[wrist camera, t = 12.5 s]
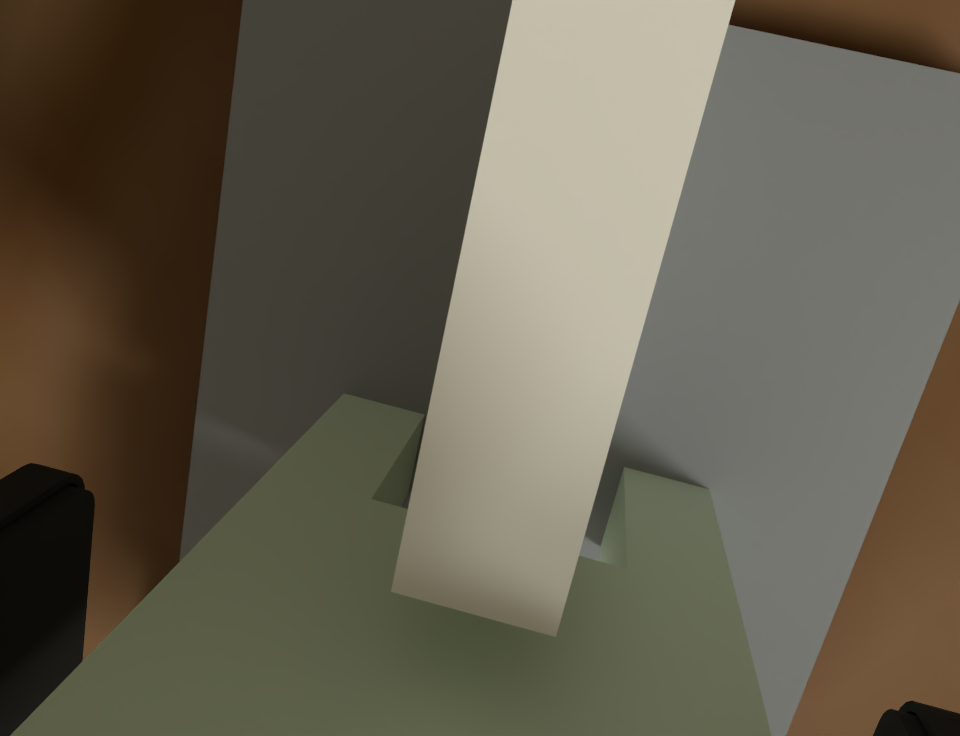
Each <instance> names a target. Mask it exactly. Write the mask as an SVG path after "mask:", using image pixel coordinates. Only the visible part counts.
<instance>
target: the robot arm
mask: <svg viewBox="0 0 960 736" xmlns="http://www.w3.org/2000/svg"><path fill="white" fill-rule="evenodd" d="M94 507H95V502H94V496H93V494H92V493H91V492H90V491H88V490H85V485H84V483H83V480H82V478H81V477H80V476H79V475H76V474H72V473H69V472H65V471H61V470H58V469H54V468H50V467H46V466H43V465H39V464H33V463H30V464H27V465H25V466H23V467H21V468H19V469H17V470H16V471H14V472H12V473H11V474H9V475H7V476H6V477H4V478H2V479H0V736H10V735H11V734H12V733H13V732H14V731H15V730H16V729H17V728H18V727H19V726H20V725H21V724H22V723H23V722H24V721H25V720H26V719H27V718H28V717H29V716H30V715H31V714H32V713H33V712H34V711H35V710H36V709H37V708H38V707H39V706H40V704H41V703H42V702H43V701H44V700H45V699H46V698H47V697H48V696H49V695H50V694H51V693H52V692H53V691H54V690H55V689H56V688H57V687H58V686H59V685H60V684H61V683H62V682H63V681H64V680H65V679H66V678H67V677H68V676H69V675H70V674H71V673H72V672H73V671H74V670H75V669H76V668H77V667H78V666H79V664H80V663H81V662H82V659H83V646H84V634H85V621H86V608H87V596H88V583H89V570H90V557H91V545H92V532H93V519H94ZM873 736H960V714H959V713H955V712H951V711H948V710H944V709H940V708H937V707H933V706H929V705H926V704H922V703H918V702H914V701H909V702H906V703H905V704H904V705H903V706H902V707H901V708H900V709H899V711H897V710H893V709H890V710H887V711H886V712H885V713H884V714H883V715H882V717H881V719H880V721H879V723H878V725H877V728H876V730H875V732H874V734H873Z"/></svg>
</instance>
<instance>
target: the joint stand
mask: <svg viewBox="0 0 960 736" xmlns="http://www.w3.org/2000/svg"><path fill="white" fill-rule="evenodd" d="M734 3H735V0H243V4H242V12H241V21H240V30H239V39H238V48H237V56H236V65H235V74H234V83H233V92H232V100H231V109H230V118H229V127H228V136H227V144H226V153H225V162H224V171H223V180H222V188H221V197H220V206H219V215H218V224H217V232H216V241H215V250H214V259H213V268H212V276H211V285H210V294H209V303H208V312H207V320H206V329H205V338H204V347H203V356H202V364H201V373H200V382H199V391H198V400H197V408H196V417H195V426H194V435H193V444H192V452H191V461H190V470H189V479H188V488H187V496H186V505H185V514H184V523H183V532H182V540H181V549H180V558H179V562H180V561H181V560H182V559H183V558H184V557H185V556H186V555H187V554H188V553H189V552H190V551H191V550H192V549H193V548H194V547H195V546H196V545H197V544H198V542H199V541H200V540H201V539H202V538H203V537H204V536H205V535H206V534H207V533H208V532H209V531H210V530H211V529H212V528H213V527H214V526H215V525H216V524H217V523H218V522H219V521H220V520H221V519H222V518H223V517H224V516H225V515H226V514H227V513H228V512H229V511H230V510H231V509H232V508H233V507H234V506H235V505H236V504H237V503H238V501H239V500H240V499H241V498H242V497H243V496H244V495H245V494H246V493H247V492H248V491H249V490H250V489H251V488H252V487H253V486H254V485H255V484H256V483H257V482H258V481H259V480H260V479H261V478H262V477H263V476H264V475H265V474H266V473H267V472H268V471H269V470H270V469H271V468H272V467H273V466H274V465H275V464H276V463H277V462H278V460H279V459H280V458H281V457H282V456H283V455H284V454H285V453H286V452H287V451H288V450H289V449H290V448H291V447H292V446H293V445H294V444H295V443H296V442H297V441H298V440H299V439H300V438H301V437H302V436H303V435H304V434H305V433H306V432H307V431H308V430H309V429H310V428H311V427H312V426H313V425H314V424H315V423H316V422H317V421H318V419H319V418H320V417H321V416H322V415H323V414H324V413H325V412H326V411H327V410H328V409H329V408H330V407H331V406H332V405H333V404H334V403H335V402H336V401H337V400H338V399H339V398H340V397H341V396H342V395H343V394H344V393H345V394H348V395H352V396H356V397H360V398H364V399H367V400H371V401H375V402H379V403H383V404H386V405H390V406H394V407H398V408H402V409H406V410H409V411H413V412H417V413H421V414H425V416H424V421H423V426H422V430H421V435H420V440H419V444H418V449H417V454H416V459H415V463H414V468H413V473H412V478H411V482H410V487H409V492H408V495H407V497H406V499H405V501H404V502H403V504H402V506H401V507H402V508H406V509H408V511H407V516H406V521H405V525H404V530H403V535H402V540H401V545H400V550H399V555H398V560H397V564H396V569H395V574H394V579H393V584H392V589H391V592H394V593H397V594H401V595H405V596H408V597H412V598H416V599H419V600H423V601H426V602H430V603H434V604H437V605H441V606H445V607H448V608H452V609H456V610H459V611H463V612H466V613H470V614H474V615H477V616H481V617H485V618H488V619H492V620H496V621H499V622H503V623H506V624H510V625H514V626H517V627H521V628H525V629H528V630H532V631H536V632H539V633H543V634H546V635H550V636H554V637H556V635H557V632H558V628H559V625H560V621H561V617H562V614H563V610H564V607H565V603H566V600H567V596H568V593H569V589H570V585H571V582H572V578H573V575H574V571H575V568H576V564H577V561H578V557H579V556H582V557H586V558H590V559H593V560H597V561H600V546H601V543H602V540H603V536H604V533H605V530H606V526H607V523H608V519H609V516H610V513H611V509H612V506H613V503H614V499H615V496H616V493H617V489H618V486H619V482H620V479H621V476H622V472H623V469H624V467H626V468H630V469H634V470H638V471H642V472H645V473H649V474H653V475H657V476H661V477H664V478H668V479H672V480H676V481H680V482H683V483H687V484H691V485H695V486H699V487H702V488H706V489H709V490H710V493H711V497H712V501H713V505H714V509H715V513H716V517H717V521H718V525H719V529H720V533H721V537H722V541H723V545H724V549H725V553H726V557H727V561H728V565H729V569H730V573H731V577H732V581H733V585H734V589H735V593H736V597H737V601H738V604H739V608H740V612H741V616H742V620H743V624H744V628H745V632H746V636H747V640H748V644H749V648H750V652H751V656H752V660H753V664H754V668H755V672H756V676H757V680H758V684H759V688H760V692H761V696H762V700H763V704H764V708H765V712H766V716H767V719H768V723H769V727H770V731H771V735H772V736H786V734H787V731H788V729H789V726H790V724H791V721H792V719H793V716H794V714H795V711H796V709H797V706H798V704H799V701H800V699H801V696H802V694H803V691H804V689H805V686H806V684H807V681H808V679H809V676H810V674H811V671H812V669H813V666H814V664H815V661H816V659H817V656H818V654H819V651H820V649H821V646H822V644H823V641H824V639H825V636H826V634H827V631H828V629H829V626H830V624H831V621H832V619H833V616H834V614H835V611H836V609H837V606H838V604H839V601H840V599H841V596H842V594H843V591H844V589H845V586H846V583H847V581H848V578H849V576H850V573H851V571H852V568H853V566H854V563H855V561H856V558H857V556H858V553H859V551H860V548H861V546H862V543H863V541H864V538H865V536H866V533H867V531H868V528H869V526H870V523H871V521H872V518H873V516H874V513H875V511H876V508H877V506H878V503H879V501H880V498H881V496H882V493H883V491H884V488H885V486H886V483H887V481H888V478H889V476H890V473H891V471H892V468H893V466H894V463H895V461H896V458H897V456H898V453H899V451H900V448H901V446H902V443H903V441H904V438H905V436H906V433H907V431H908V428H909V426H910V423H911V421H912V418H913V415H914V413H915V410H916V408H917V405H918V403H919V400H920V398H921V395H922V393H923V390H924V388H925V385H926V383H927V380H928V378H929V375H930V373H931V370H932V368H933V365H934V363H935V360H936V358H937V355H938V353H939V350H940V348H941V345H942V343H943V340H944V338H945V335H946V333H947V330H948V328H949V325H950V323H951V320H952V318H953V315H954V313H955V310H956V308H957V305H958V303H959V300H960V73H955V72H950V71H946V70H941V69H936V68H931V67H927V66H922V65H917V64H913V63H908V62H903V61H898V60H894V59H889V58H884V57H879V56H875V55H870V54H865V53H860V52H856V51H851V50H846V49H842V48H837V47H832V46H827V45H823V44H818V43H813V42H808V41H804V40H799V39H794V38H789V37H785V36H780V35H775V34H771V33H766V32H761V31H756V30H752V29H747V28H742V27H737V26H733V25H728V24H729V21H730V17H731V14H732V10H733V7H734Z"/></svg>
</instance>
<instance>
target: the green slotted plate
mask: <svg viewBox="0 0 960 736" xmlns="http://www.w3.org/2000/svg"><path fill="white" fill-rule="evenodd" d="M424 416H425V414H421V413H417V412H413V411H409V410H406V409H402V408H398V407H394V406H390V405H386V404H383V403H379V402H375V401H371V400H367V399H364V398H360V397H356V396H352V395H348V394H345V393H344V394H343V395H342V396H341V397H340V398H339V399H338V400H337V401H336V402H335V403H334V404H333V405H332V406H331V407H330V408H329V409H328V410H327V411H326V412H325V413H324V414H323V415H322V416H321V417H320V418H319V419H318V421H317V422H316V423H315V424H314V425H313V426H312V427H311V428H310V429H309V430H308V431H307V432H306V433H305V434H304V435H303V436H302V437H301V438H300V439H299V440H298V441H297V442H296V443H295V444H294V445H293V446H292V447H291V448H290V449H289V450H288V451H287V452H286V453H285V454H284V455H283V456H282V457H281V458H280V459H279V460H278V462H277V463H276V464H275V465H274V466H273V467H272V468H271V469H270V470H269V471H268V472H267V473H266V474H265V475H264V476H263V477H262V478H261V479H260V480H259V481H258V482H257V483H256V484H255V485H254V486H253V487H252V488H251V489H250V490H249V491H248V492H247V493H246V494H245V495H244V496H243V497H242V498H241V499H240V500H239V501H238V503H237V504H236V505H235V506H234V507H233V508H232V509H231V510H230V511H229V512H228V513H227V514H226V515H225V516H224V517H223V518H222V519H221V520H220V521H219V522H218V523H217V524H216V525H215V526H214V527H213V528H212V529H211V530H210V531H209V532H208V533H207V534H206V535H205V536H204V537H203V538H202V539H201V540H200V541H199V542H198V544H197V545H196V546H195V547H194V548H193V549H192V550H191V551H190V552H189V553H188V554H187V555H186V556H185V557H184V558H183V559H182V560H181V561H180V562H179V563H178V564H177V565H176V566H175V567H174V568H173V569H172V570H171V571H170V572H169V573H168V574H167V575H166V576H165V577H164V578H163V579H162V580H161V581H160V582H159V584H158V585H157V586H156V587H155V588H154V589H153V590H152V591H151V592H150V593H149V594H148V595H147V596H146V597H145V598H144V599H143V600H142V601H141V602H140V603H139V604H138V605H137V606H136V607H135V608H134V609H133V610H132V611H131V612H130V613H129V614H128V615H127V616H126V617H125V618H124V619H123V620H122V621H121V622H120V623H119V625H118V626H117V627H116V628H115V629H114V630H113V631H112V632H111V633H110V634H109V635H108V636H107V637H106V638H105V639H104V640H103V641H102V642H101V643H100V644H99V645H98V646H97V647H96V648H95V649H94V650H93V651H92V652H91V653H90V654H89V655H88V656H87V657H86V658H85V659H84V660H83V661H82V662H81V663H80V664H79V666H78V667H77V668H76V669H75V670H74V671H73V672H72V673H71V674H70V675H69V676H68V677H67V678H66V679H65V680H64V681H63V682H62V683H61V684H60V685H59V686H58V687H57V688H56V689H55V690H54V691H53V692H52V693H51V694H50V695H49V696H48V697H47V698H46V699H45V700H44V701H43V702H42V703H41V704H40V706H39V707H38V708H37V709H36V710H35V711H34V712H33V713H32V714H31V715H30V716H29V717H28V718H27V719H26V720H25V721H24V722H23V723H22V724H21V725H20V726H19V727H18V728H17V729H16V730H15V731H14V732H13V733H12V734H11V735H10V736H772V735H771V731H770V727H769V723H768V719H767V716H766V712H765V708H764V704H763V700H762V696H761V692H760V688H759V684H758V680H757V676H756V672H755V668H754V664H753V660H752V656H751V652H750V648H749V644H748V640H747V636H746V632H745V628H744V624H743V620H742V616H741V612H740V608H739V604H738V601H737V597H736V593H735V589H734V585H733V581H732V577H731V573H730V569H729V565H728V561H727V557H726V553H725V549H724V545H723V541H722V537H721V533H720V529H719V525H718V521H717V517H716V513H715V509H714V505H713V501H712V497H711V493H710V490H709V489H706V488H702V487H699V486H695V485H691V484H687V483H683V482H680V481H676V480H672V479H668V478H664V477H661V476H657V475H653V474H649V473H645V472H642V471H638V470H634V469H630V468H626V467H624V469H623V472H622V476H621V479H620V482H619V486H618V489H617V493H616V496H615V499H614V503H613V506H612V509H611V513H610V516H609V519H608V523H607V526H606V530H605V533H604V536H603V540H602V543H601V546H600V561H597V560H593V559H590V558H586V557H582V556H579V557H578V561H577V564H576V568H575V571H574V575H573V578H572V582H571V585H570V589H569V593H568V596H567V600H566V603H565V607H564V610H563V614H562V617H561V621H560V625H559V628H558V632H557V635H556V637H554V636H550V635H546V634H543V633H539V632H536V631H532V630H528V629H525V628H521V627H517V626H514V625H510V624H506V623H503V622H499V621H496V620H492V619H488V618H485V617H481V616H477V615H474V614H470V613H466V612H463V611H459V610H456V609H452V608H448V607H445V606H441V605H437V604H434V603H430V602H426V601H423V600H419V599H416V598H412V597H408V596H405V595H401V594H397V593H394V592H391V589H392V584H393V579H394V574H395V569H396V564H397V560H398V555H399V550H400V545H401V540H402V535H403V530H404V525H405V521H406V516H407V511H408V509H406V508H402V507H401V506H402V504H403V502H404V501H405V499H406V497H407V495H408V492H409V487H410V482H411V478H412V473H413V468H414V463H415V459H416V454H417V449H418V444H419V440H420V435H421V430H422V426H423V421H424Z"/></svg>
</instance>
